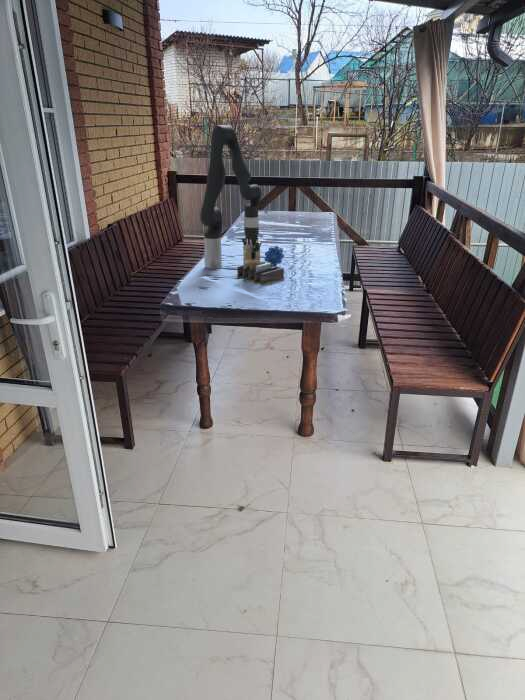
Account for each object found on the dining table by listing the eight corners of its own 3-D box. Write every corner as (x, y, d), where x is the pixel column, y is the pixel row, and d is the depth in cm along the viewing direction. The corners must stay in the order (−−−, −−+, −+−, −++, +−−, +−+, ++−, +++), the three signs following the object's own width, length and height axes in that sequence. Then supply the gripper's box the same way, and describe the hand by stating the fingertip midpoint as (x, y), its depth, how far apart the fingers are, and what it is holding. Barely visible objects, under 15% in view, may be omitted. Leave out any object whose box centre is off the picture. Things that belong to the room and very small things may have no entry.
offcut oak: (250, 277, 258) (249, 264, 255) (262, 273, 263) (262, 260, 260) (252, 277, 257) (252, 264, 254) (265, 274, 262) (265, 261, 259)
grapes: (285, 265, 283) (286, 244, 278) (283, 268, 278) (283, 247, 272) (266, 263, 286) (266, 243, 281) (263, 266, 280) (263, 246, 275)
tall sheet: (243, 275, 261) (243, 245, 254) (257, 271, 267) (257, 242, 260) (246, 276, 259) (245, 246, 252) (260, 272, 265) (260, 243, 258)
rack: (234, 278, 261) (233, 266, 258) (259, 271, 272) (258, 260, 269) (262, 287, 246) (262, 275, 244) (287, 280, 258) (287, 268, 255)
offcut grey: (255, 278, 255) (255, 265, 252) (268, 275, 261) (268, 262, 257) (258, 279, 254) (258, 266, 251) (270, 276, 259) (270, 263, 256)
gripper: (237, 224, 254) (238, 257, 262) (255, 228, 245) (255, 262, 253) (248, 222, 259) (248, 254, 266) (265, 226, 250) (265, 259, 257)
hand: (251, 258), depth 259 cm, fingers closed on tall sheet, 2 cm apart
